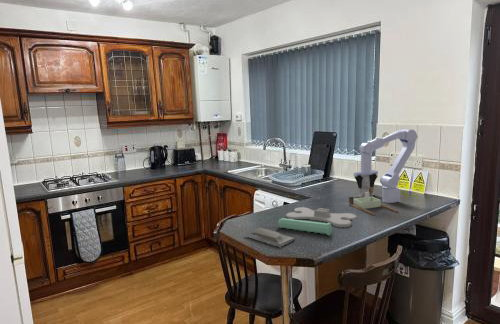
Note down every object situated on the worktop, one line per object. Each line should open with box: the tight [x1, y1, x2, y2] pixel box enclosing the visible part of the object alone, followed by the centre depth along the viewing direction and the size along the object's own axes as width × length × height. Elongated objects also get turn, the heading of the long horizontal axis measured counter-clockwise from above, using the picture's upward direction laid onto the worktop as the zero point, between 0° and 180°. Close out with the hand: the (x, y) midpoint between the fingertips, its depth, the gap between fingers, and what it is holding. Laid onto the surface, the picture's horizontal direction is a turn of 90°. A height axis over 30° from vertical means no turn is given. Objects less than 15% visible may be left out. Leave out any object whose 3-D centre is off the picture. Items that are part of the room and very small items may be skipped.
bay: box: [348, 194, 399, 217], centre depth 183 cm, size 15×24×6 cm, turn 16°
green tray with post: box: [353, 192, 382, 210], centre depth 186 cm, size 12×8×8 cm, turn 106°
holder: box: [285, 206, 358, 228], centre depth 172 cm, size 19×34×5 cm, turn 57°
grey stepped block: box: [251, 227, 295, 245], centre depth 146 cm, size 10×20×4 cm, turn 47°
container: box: [277, 217, 333, 236], centre depth 154 cm, size 6×6×25 cm
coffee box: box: [359, 169, 375, 197], centre depth 210 cm, size 9×6×16 cm
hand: (365, 187), depth 191 cm, fingers open, 7 cm apart
